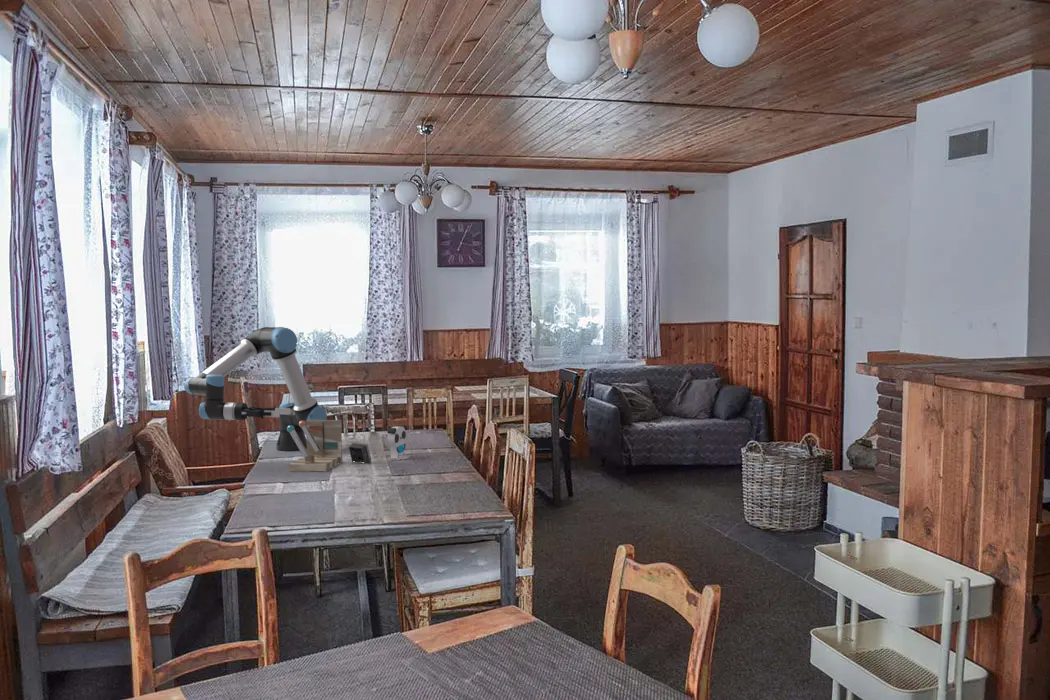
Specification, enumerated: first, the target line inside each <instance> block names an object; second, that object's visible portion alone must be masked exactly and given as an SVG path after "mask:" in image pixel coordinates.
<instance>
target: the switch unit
mask: <svg viewBox="0 0 1050 700" xmlns="http://www.w3.org/2000/svg"><path fill="white" fill-rule="evenodd" d="M306 425H307V427H308V429H309V431H310V432H311V434H312V436H313V437H314V439H315V441H316V443H317V444H318V446H319V448H320V449H321V451H316V452H315V450H314V449H313V447H312V445H311V443H310V442H309V440H308V438H307V436H306V435H305V437H306V439H307V448H306V450H307V452H308V454H309V455H310V457H305V458H304V457H303V456H302V457H300V458H299V459H296V460H294V461H293V462H291V463H289V464H288V471H289V472H310V471H326V470H327V471H329V470H331V469H332V468H334V467H336V466H337V465H339V464H340V462H341V463H342V462H343V441H342V440H343V439H342V437H343V435H342V431H343V430H342V419H326V420H306ZM338 463H339V464H338ZM335 465H336V466H335ZM330 468H331V469H330ZM328 469H329V470H328ZM327 471H326V472H327Z"/></svg>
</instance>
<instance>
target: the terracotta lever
mask: <svg viewBox="0 0 1050 700" xmlns="http://www.w3.org/2000/svg"><path fill="white" fill-rule="evenodd" d="M299 426H300V427H301V428H302V430H303V431H304V434H305V437H306V436H307V437H306V439H307V438H308V440H309V442H310V443H311V445H312V447H313V449H314V450H315V452H316V451H321V449H320V448H319V446H318V444H317V443H316V441H315V439H314V437H313V436H312V434H311V432H310V431H309V429H308V427H307V425H306V422H305V421H300V422H299Z"/></svg>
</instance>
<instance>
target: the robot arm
mask: <svg viewBox="0 0 1050 700" xmlns="http://www.w3.org/2000/svg"><path fill="white" fill-rule="evenodd" d="M297 343H298V338H297V335H296V334H295V331H293V330H292V329H290V328H288V327H284V326H279V327H278V326H274V327H273V326H272V327H271V326H264V327H260V328H259V329H256V330H255V331H253V332H252V333H250V334H249V335H247V336H246V337H244V338H243V339H242V340H240V344H238V345H237V346H236V347H234V348H233V349H231V350H230V351H229V352H228V353H226V354H225V355H224V356H222V357H220V358H219V359H218V360H217V361H215V362H214V363H212V365H210V366H209V367H207V368H206V369H204V371H202V372H201V373H199V374H198V375H196V376H195V377H194V376H192V377H189V378H186V380H185V381H184V384H183V386H184V390H185V392H186V393H188V394H190V395H193V396H205V398H204V399H205V401H201V403H200V404H199V408H198V415H199V417H200V418H201V419H203V420H216V421H217V420H218V421H219V420H221V421H222V420H225V421H226V420H227V421H228V422H231V421H235V420H236V421H245V420H247V418H248V417H249V418H252V417H255V418H260V419H262V420H263V419H264V418H278V419H279V420H278V421H279V424H278V425H279V434H278V439H277V441H276V445H275V447H276V450H277V451H285V452H286V451H287V452H288V451H290V450H294V451H300V450H299V448H298V446H297V445H296V443H295V441H294V439H293V438H292V436H291V434H290V433H289V432H288V431H287V427H288V426H289V425H293V426H294V428H295V431H296V433H297V435H298V436H299V438H300V440H301V442H302V443H303V445H304V447H305V448H306V449H307V437H306V435H305V433H304V431H303V430H302V428H301V427H300V426H299V422H300V421H305V422H306V420H327V417H328V413H327V410H326V409H325V408H324V407H323V406H320V405H319V404H318V403H319V402H318V401H317V399H316V398H315V397H313V396H312V394H311V392H310V389H309V387H308V384H307V381H306V379H305V377H304V374H303V372H302V369H301V367H300V364H299V362H298V359H297V357H296V352H297V347H298V346H297V345H298V344H297ZM265 352H267V353H269V354H270V357H271V359H272V360H273V361H276V362H277V365H278V367H279V368H280V371H281V374H282V377H283V379H284V381H285V384H286V386H287V389H288V391H289V393H290V395H291V398H292V401H291V402H284V403H281V404H280V405H279V406H278V407H276V406H273V407H261V406H259V407H257V406H251V407H248V404H247V403H246V402H234V401H233V402H229V401H228V402H224V400H225V377H226V376H228V375H229V374H230V373H231V372H233V371H234V370H235V369H237V368H238V367H239V366H241V365H242V364H243V363H245V362H246V361H247V360H248V359H250V358H251V357H253V358H254V357H256V356H257V355H260V354H261V353H265Z"/></svg>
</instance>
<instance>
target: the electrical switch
mask: <svg viewBox="0 0 1050 700" xmlns="http://www.w3.org/2000/svg"><path fill="white" fill-rule="evenodd" d="M348 450H349V454H350V457H351V462H352V463H355V462H360V461H361V462H364V463H365V464H367V462H370V463H371V462H372V457H371V453H370V449H369V445H368V443H367V442H358V441H353V442H351V445H349V446H348ZM353 461H355V462H353Z"/></svg>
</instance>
